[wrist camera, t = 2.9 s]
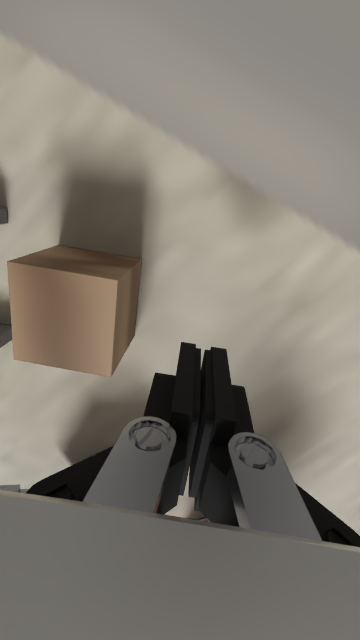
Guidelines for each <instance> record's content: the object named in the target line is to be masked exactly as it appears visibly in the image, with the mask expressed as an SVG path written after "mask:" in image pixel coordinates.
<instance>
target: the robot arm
mask: <svg viewBox="0 0 360 640" xmlns="http://www.w3.org/2000/svg"><path fill="white" fill-rule="evenodd" d="M189 466H190V473H189V497H194V498H195V506H194V510H197V511H201V512H202V513H203V514H204V515H205V516H206V517H207V519H208V522H205V521H199V520H193V519H187V518H181V517H175V516H169V515H164V514H165V513H167V512H168V511H169V510H171V509H172V508H174V507H175V506H176V505H177V501H178V496H179V495H182V496H183V495H184V490H185V485H186V481H187V476H188V471H189ZM0 640H360V536H359V535H358V534H357V533H356V532H355V531H354V530H353V529H351V528H350V527H349V526H348V525H346V524H345V523H344V522H343V521H341V520H340V519H339V518H338V517H336V516H335V515H334V514H333V513H332V512H330V511H329V510H328V509H327V508H325V507H324V506H323V505H322V504H320V503H319V502H318V501H317V500H315V499H314V498H313V497H312V496H310V495H309V494H308V493H307V492H306V491H304V490H303V489H302V488H301V487H299V486H298V485H297V484H296V483H295V482H294V480H293V478H292V476H291V474H290V472H289V470H288V467H287V465H286V463H285V461H284V459H283V457H282V455H281V453H280V451H279V450H278V448H277V447H276V446H275V445H274V444H273V443H272V442H271V441H270V440H268V439H266V438H265V437H263V436H261V435H258V434H255V433H254V430H253V425H252V420H251V416H250V411H249V406H248V402H247V397H246V392H245V388H244V387H242V386H236V385H231V378H230V372H229V365H228V358H227V351H226V349H222V348H216V347H211V349H210V350H205V352H204V357H203V362H202V367H201V349H198V348H196V344H191V343H184V342H181V347H180V354H179V360H178V366H177V372H176V376H174V375H167V374H161V373H155V375H154V379H153V383H152V386H151V390H150V394H149V398H148V401H147V405H146V409H145V413H144V417H140V418H136V419H134V420H132V421H131V422H129V423H128V424H127V425H126V426H125V428H124V429H123V431H122V433H121V435H120V436H119V438H118V440H117V442H116V443H115V445H114V446H112V447H110V448H108V449H106V450H104V451H102V452H100V453H98V454H96V455H93V456H91V457H89V458H87V459H85V460H83V461H81V462H79V463H77V464H74V465H72V466H70V467H68V468H66V469H64V470H62V471H60V472H57V473H55V474H53V475H51V476H49V477H47V478H45V479H43V480H41V481H39V482H38V483H36V484H34V485H33V486H32V487H31V488H30V489H20V485H0Z"/></svg>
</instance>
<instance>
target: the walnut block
mask: <svg viewBox="0 0 360 640" xmlns="http://www.w3.org/2000/svg"><path fill="white" fill-rule="evenodd" d="M141 264H142V259H138V258H132V257H127V256H121V255H115V254H109V253H103V252H97V251H91V250H85V249H79V248H73V247H67V246H61V245H57V246H54V247H51V248H48V249H45V250H42V251H38V252H35V253H32V254H29V255H26V256H23V257H20V258H17V259H14V260H10V261H7V266H8V281H9V296H10V311H11V326H12V341H13V356H14V360H19V361H24V362H30V363H35V364H41V365H46V366H52V367H57V368H62V369H68V370H73V371H79V372H84V373H90V374H95V375H100V376H106V377H111V376H112V374H113V373H114V371H115V369H116V367H117V366H118V364H119V362H120V360H121V359H122V357H123V355H124V353H125V352H126V350H127V348H128V346H129V345H130V343H131V341H132V339H133V338H134V335H135V324H136V314H137V304H138V294H139V284H140V274H141Z"/></svg>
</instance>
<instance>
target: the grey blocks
mask: <svg viewBox="0 0 360 640" xmlns="http://www.w3.org/2000/svg"><path fill="white" fill-rule="evenodd" d="M5 223H8V217H7V209H6V208H0V224H5ZM11 340H12V326H11V325H5V324H0V348H1V347H2V346H4V345H5V344H6V343H8V342H9V341H11Z"/></svg>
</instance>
